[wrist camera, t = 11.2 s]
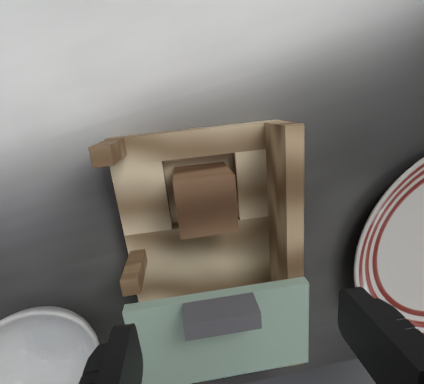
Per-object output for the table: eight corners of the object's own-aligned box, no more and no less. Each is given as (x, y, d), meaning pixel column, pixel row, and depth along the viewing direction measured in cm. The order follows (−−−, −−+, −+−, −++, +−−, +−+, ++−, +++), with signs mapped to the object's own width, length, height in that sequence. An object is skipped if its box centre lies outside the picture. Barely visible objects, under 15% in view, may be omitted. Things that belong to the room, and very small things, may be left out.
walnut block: (174, 167, 27) (172, 182, 22) (223, 161, 28) (234, 175, 22) (180, 213, 29) (180, 239, 23) (227, 207, 29) (239, 231, 23)
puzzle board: (109, 137, 26) (84, 147, 19) (275, 119, 28) (307, 123, 21) (150, 335, 34) (142, 393, 27) (280, 313, 35) (305, 363, 28)
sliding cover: (124, 304, 23) (115, 337, 20) (304, 276, 25) (323, 302, 21) (142, 382, 26) (137, 422, 23) (303, 353, 27) (320, 387, 24)
